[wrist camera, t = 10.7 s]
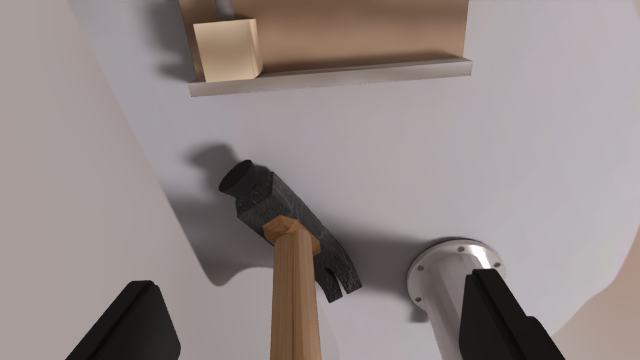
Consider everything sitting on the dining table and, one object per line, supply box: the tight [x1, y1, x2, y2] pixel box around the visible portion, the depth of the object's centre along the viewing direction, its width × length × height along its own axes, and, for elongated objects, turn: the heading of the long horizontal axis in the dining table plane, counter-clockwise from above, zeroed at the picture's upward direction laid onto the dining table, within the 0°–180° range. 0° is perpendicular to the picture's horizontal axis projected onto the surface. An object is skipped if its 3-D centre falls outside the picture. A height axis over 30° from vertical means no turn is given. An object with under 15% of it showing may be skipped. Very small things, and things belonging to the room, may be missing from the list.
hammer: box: [219, 160, 362, 360], centre depth 29 cm, size 20×5×30 cm, turn 36°
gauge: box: [193, 0, 263, 83], centre depth 27 cm, size 9×4×4 cm, turn 5°
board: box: [179, 0, 473, 97], centre depth 29 cm, size 12×25×4 cm, turn 95°
